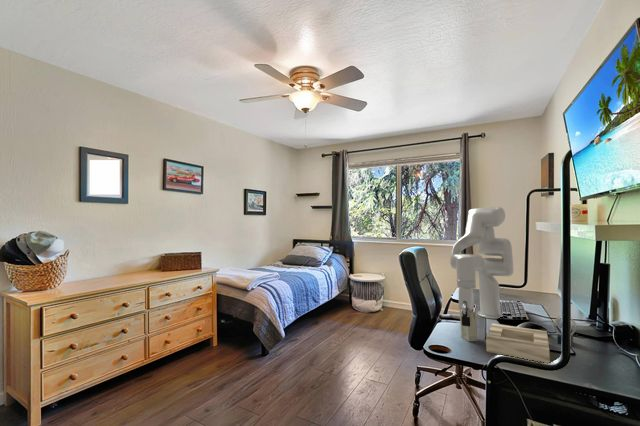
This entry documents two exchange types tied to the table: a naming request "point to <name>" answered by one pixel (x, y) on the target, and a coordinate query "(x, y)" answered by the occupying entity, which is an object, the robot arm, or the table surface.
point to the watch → (560, 333)
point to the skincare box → (469, 328)
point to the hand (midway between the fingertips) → (468, 322)
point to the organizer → (518, 342)
